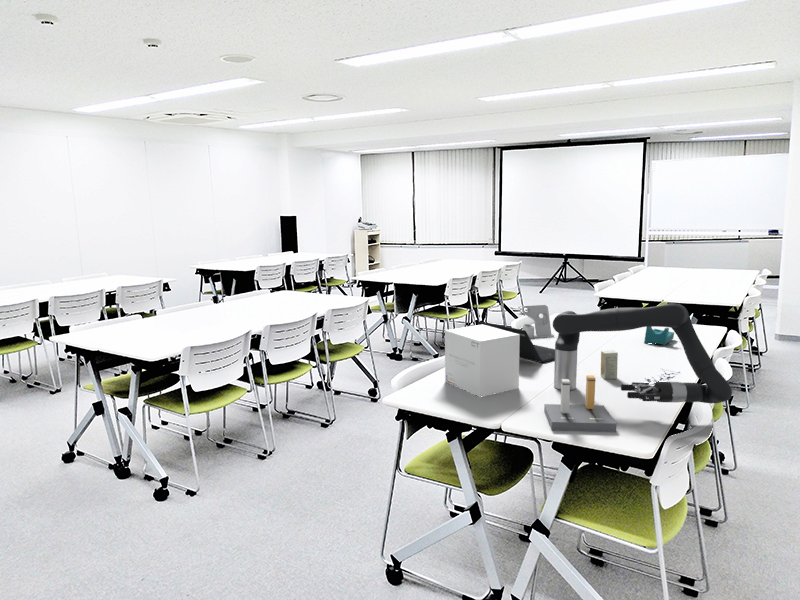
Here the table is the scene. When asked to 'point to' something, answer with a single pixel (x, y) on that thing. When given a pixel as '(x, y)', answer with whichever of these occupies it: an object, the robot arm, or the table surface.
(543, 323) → the phone holder
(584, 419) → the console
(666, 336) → the teal cradle stand
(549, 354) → the laptop
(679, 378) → the table surface
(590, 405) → the amber fader
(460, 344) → the cube
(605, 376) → the skincare box
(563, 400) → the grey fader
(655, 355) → the table surface
